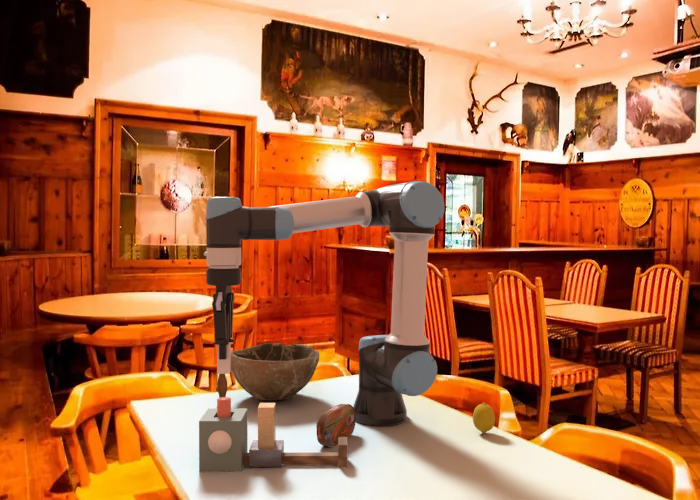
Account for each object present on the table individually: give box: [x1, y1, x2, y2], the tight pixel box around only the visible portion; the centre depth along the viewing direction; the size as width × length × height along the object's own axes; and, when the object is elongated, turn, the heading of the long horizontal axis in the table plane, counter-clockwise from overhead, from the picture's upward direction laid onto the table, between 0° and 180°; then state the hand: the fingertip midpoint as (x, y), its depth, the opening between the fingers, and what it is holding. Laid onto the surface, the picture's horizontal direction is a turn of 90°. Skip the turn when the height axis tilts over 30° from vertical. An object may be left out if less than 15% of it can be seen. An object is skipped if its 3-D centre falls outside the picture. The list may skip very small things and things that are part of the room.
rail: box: [243, 437, 348, 468], centre depth 132 cm, size 23×5×5 cm, turn 91°
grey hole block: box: [198, 407, 248, 473], centre depth 131 cm, size 9×9×11 cm
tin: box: [316, 403, 357, 448], centre depth 146 cm, size 15×3×8 cm, turn 149°
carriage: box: [248, 402, 285, 468], centre depth 132 cm, size 7×6×13 cm
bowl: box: [231, 342, 320, 402], centre depth 182 cm, size 28×27×15 cm
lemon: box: [472, 402, 496, 434], centre depth 152 cm, size 6×6×8 cm
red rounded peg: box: [216, 396, 232, 417], centre depth 131 cm, size 3×3×8 cm
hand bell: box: [216, 374, 228, 398], centre depth 150 cm, size 8×8×16 cm
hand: (223, 372), depth 131 cm, fingers closed
